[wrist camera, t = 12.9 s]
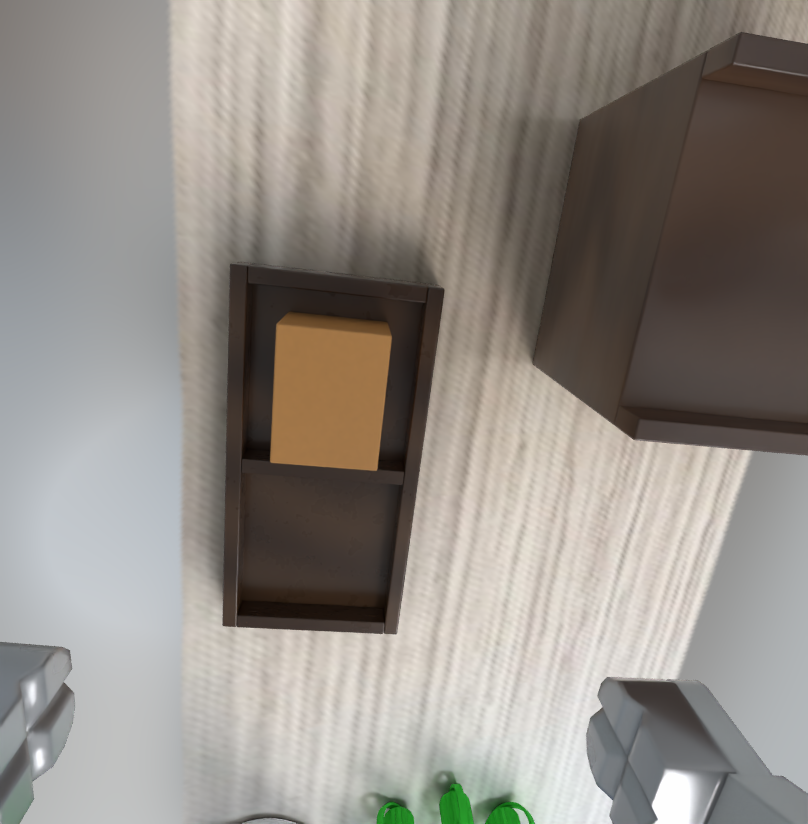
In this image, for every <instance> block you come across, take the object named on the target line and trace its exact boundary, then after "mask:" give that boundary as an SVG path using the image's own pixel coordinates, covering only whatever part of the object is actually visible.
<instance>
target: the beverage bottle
mask: <svg viewBox="0 0 808 824" xmlns="http://www.w3.org/2000/svg"><path fill="white" fill-rule="evenodd" d="M242 824H297V823H295V822H292V821H288V820H284V819H277V818H263V819H255V820H251V821H247V822H244V823H242Z"/></svg>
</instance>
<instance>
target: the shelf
mask: <svg viewBox="0 0 808 824" xmlns="http://www.w3.org/2000/svg"><path fill="white" fill-rule="evenodd" d="M443 298H444V289H443V288H442V287H441V286H439V285H434V284H426V283H417V282H409V281H400V280H392V279H383V278H374V277H366V276H357V275H349V274H340V273H332V272H323V271H314V270H306V269H297V268H289V267H280V266H272V265H263V264H255V263H246V262H237V263H233V264H230V290H229V338H228V385H227V433H226V481H225V528H224V576H223V624H222V625H223V626H228V627H236V626H237V627H247V628H268V629H290V630H311V631H333V632H354V633H375V634H383V633H385V634H397V630H398V623H399V616H400V609H401V601H402V594H403V587H404V580H405V572H406V565H407V558H408V551H409V544H410V536H411V529H412V522H413V515H414V507H415V500H416V493H417V486H418V478H419V471H420V464H421V457H422V450H423V442H424V435H425V428H426V421H427V413H428V406H429V399H430V392H431V384H432V377H433V370H434V363H435V356H436V348H437V341H438V334H439V327H440V319H441V312H442V305H443ZM288 312H298V313H308V314H317V315H327V316H336V317H345V318H355V319H364V320H373V321H383V322H388V325H389V329H390V332H391V335H392V342H391V351H390V360H389V369H388V378H387V387H386V396H385V405H384V414H383V423H382V432H381V441H380V450H379V459H378V468H377V471H372V470H359V469H346V468H333V467H320V466H307V465H294V464H281V463H271V462H270V449H271V427H272V405H273V384H274V362H275V340H276V324H277V323H278V322H279V321H280V320H281V319H282V318H283V317H284V316H285V315H286V314H287V313H288Z"/></svg>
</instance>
